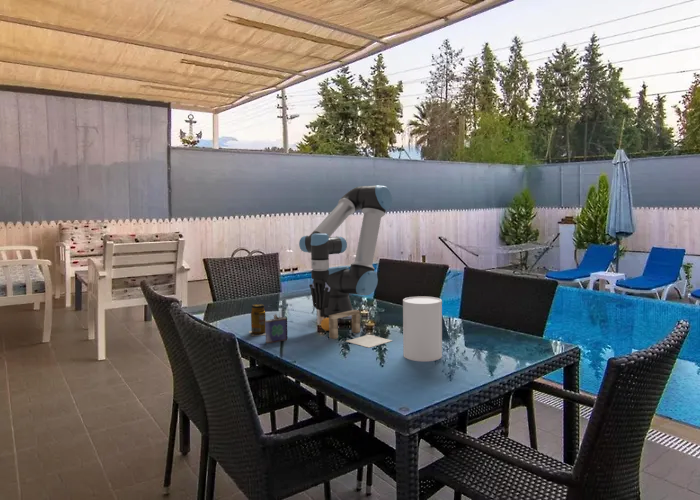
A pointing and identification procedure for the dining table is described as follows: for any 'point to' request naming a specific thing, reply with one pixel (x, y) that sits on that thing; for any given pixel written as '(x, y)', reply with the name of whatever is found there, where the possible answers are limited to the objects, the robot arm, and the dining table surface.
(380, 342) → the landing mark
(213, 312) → the dining table surface
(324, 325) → the ball
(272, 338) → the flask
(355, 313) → the bridge
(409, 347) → the canister
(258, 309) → the condiment
